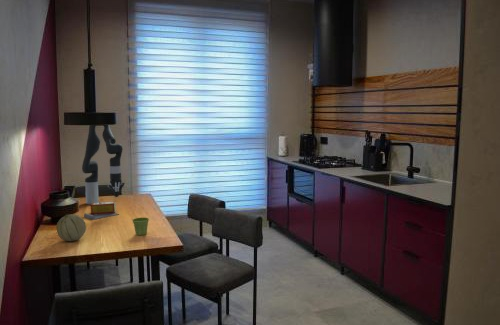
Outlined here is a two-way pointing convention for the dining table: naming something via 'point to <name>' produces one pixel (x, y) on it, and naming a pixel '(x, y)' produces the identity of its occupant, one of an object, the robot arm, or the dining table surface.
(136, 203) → the dining table surface
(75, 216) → the cantaloupe
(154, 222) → the dining table surface
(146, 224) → the plant pot
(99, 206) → the baking soda box
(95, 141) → the robot arm
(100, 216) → the bookend
